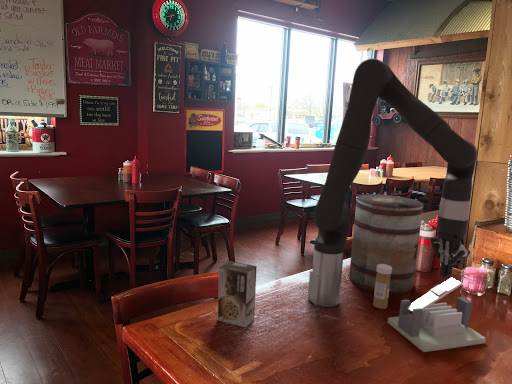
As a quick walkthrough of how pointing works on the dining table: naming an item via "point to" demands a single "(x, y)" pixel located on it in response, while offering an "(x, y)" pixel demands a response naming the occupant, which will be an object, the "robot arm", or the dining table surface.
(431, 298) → the clamp bar
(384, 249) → the barrel
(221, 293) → the coffee box
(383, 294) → the sprinkles bottle
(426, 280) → the dining table surface
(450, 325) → the board
